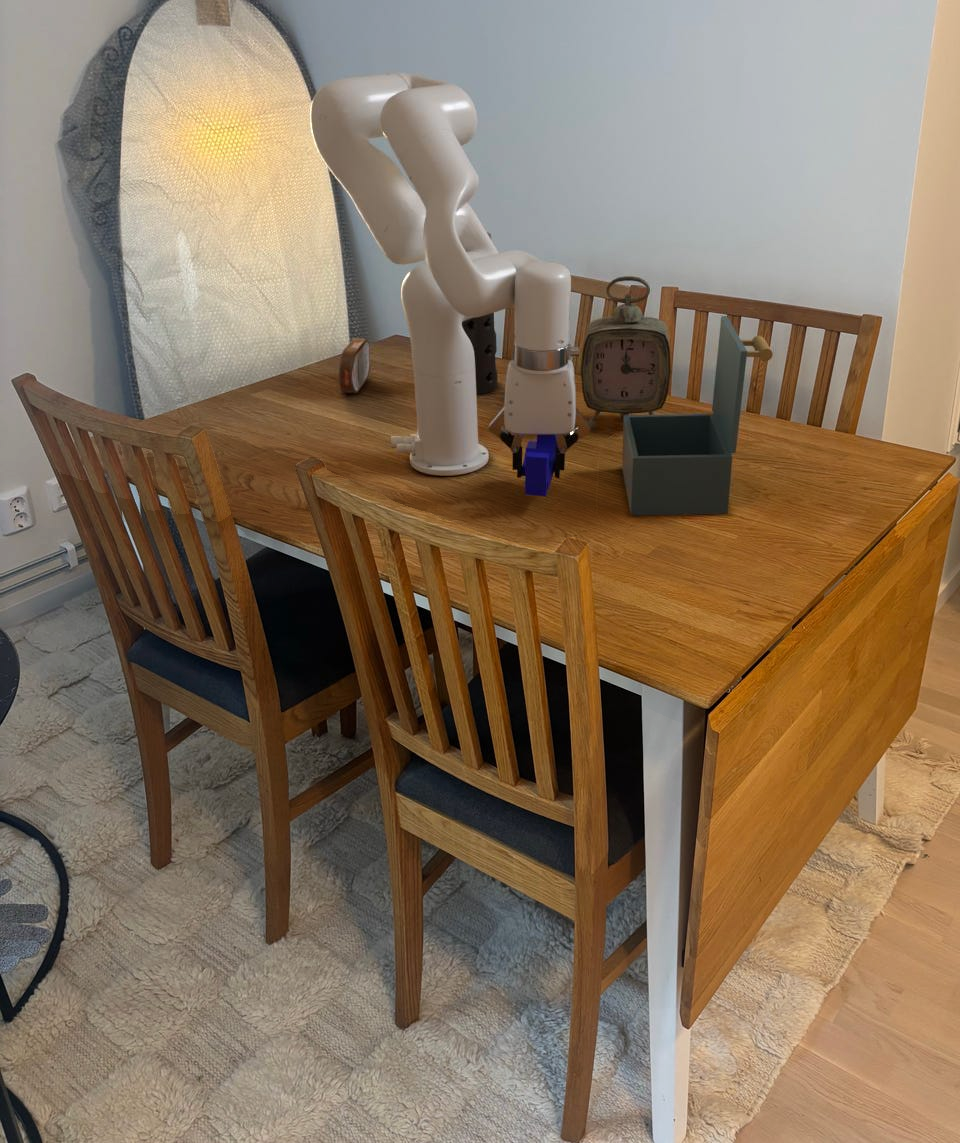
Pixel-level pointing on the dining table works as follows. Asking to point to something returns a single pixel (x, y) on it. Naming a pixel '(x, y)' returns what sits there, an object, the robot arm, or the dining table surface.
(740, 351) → the lid
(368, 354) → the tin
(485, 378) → the muzzle brake
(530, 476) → the blue stepped block
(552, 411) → the robot arm
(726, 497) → the chest
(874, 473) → the dining table surface
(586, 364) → the tabletop clock
